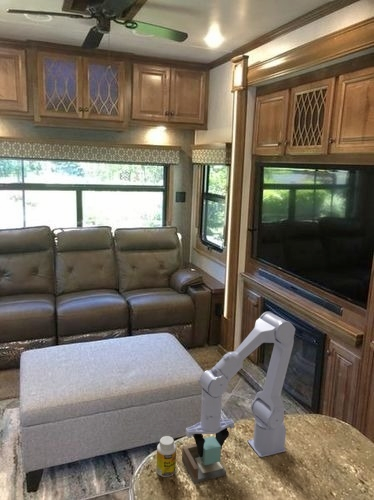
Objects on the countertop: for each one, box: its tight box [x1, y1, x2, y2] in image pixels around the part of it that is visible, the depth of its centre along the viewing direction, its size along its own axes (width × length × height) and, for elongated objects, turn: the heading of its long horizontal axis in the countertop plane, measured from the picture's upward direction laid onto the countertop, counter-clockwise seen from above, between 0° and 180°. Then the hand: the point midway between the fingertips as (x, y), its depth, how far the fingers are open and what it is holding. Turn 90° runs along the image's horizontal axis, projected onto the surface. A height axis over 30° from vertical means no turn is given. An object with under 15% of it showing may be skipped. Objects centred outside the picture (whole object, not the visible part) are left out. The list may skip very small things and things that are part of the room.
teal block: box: [198, 435, 222, 465], centre depth 123 cm, size 5×5×5 cm
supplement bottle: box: [156, 435, 177, 478], centre depth 120 cm, size 6×6×10 cm
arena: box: [181, 443, 227, 484], centre depth 123 cm, size 10×10×4 cm
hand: (209, 452), depth 123 cm, fingers closed on teal block, 5 cm apart
